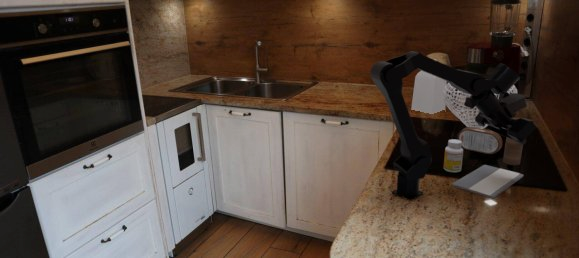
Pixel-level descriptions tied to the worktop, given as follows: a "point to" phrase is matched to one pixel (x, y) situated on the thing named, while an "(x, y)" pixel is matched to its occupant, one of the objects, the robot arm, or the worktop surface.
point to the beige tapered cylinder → (512, 151)
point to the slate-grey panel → (488, 181)
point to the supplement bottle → (453, 156)
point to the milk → (428, 93)
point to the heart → (446, 95)
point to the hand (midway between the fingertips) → (518, 140)
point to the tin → (480, 140)
